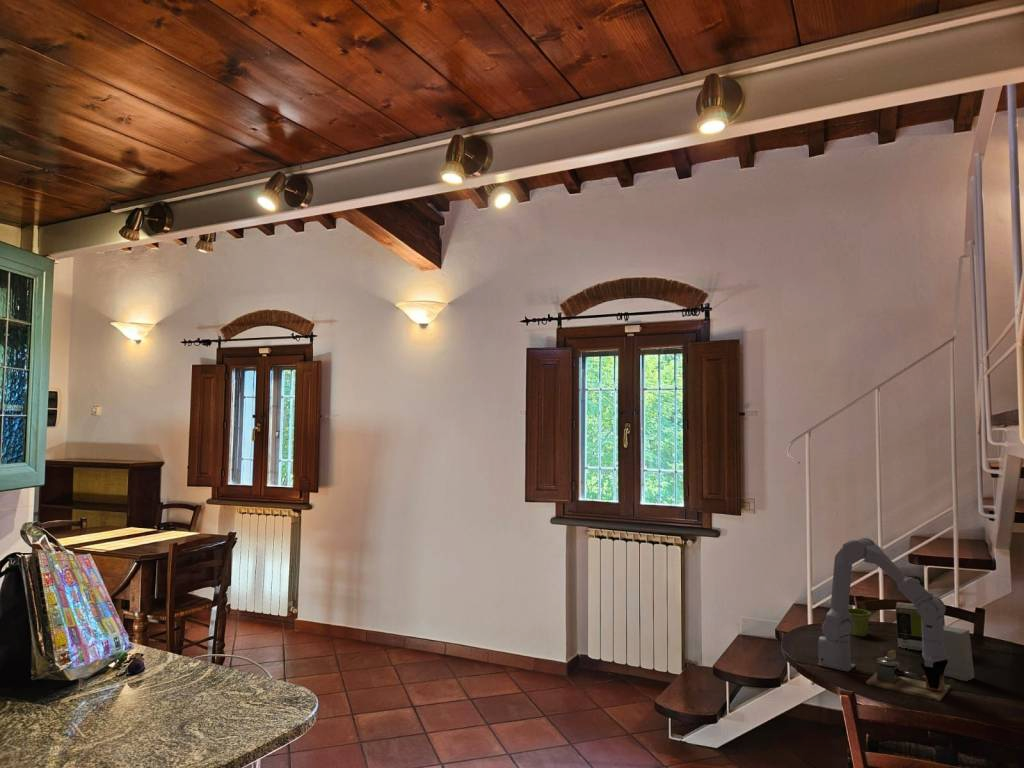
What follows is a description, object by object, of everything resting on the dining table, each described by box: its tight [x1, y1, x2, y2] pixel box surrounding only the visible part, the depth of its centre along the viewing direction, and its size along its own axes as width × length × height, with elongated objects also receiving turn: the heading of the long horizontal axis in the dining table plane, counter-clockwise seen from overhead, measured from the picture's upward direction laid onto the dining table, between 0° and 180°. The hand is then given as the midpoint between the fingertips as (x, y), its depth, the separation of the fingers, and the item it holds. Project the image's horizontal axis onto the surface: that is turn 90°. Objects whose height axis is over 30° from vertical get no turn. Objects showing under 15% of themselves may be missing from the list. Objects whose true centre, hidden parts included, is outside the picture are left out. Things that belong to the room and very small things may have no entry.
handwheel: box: [876, 649, 900, 666], centre depth 208 cm, size 8×6×3 cm
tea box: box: [895, 601, 946, 652], centre depth 241 cm, size 15×10×15 cm, turn 58°
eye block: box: [875, 662, 902, 684], centre depth 207 cm, size 5×7×5 cm
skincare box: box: [944, 625, 975, 682], centre depth 212 cm, size 8×6×15 cm
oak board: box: [866, 672, 951, 702], centre depth 203 cm, size 20×14×1 cm
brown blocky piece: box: [896, 669, 946, 691], centre depth 201 cm, size 12×4×4 cm, turn 46°
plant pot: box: [848, 608, 872, 637], centre depth 258 cm, size 9×9×9 cm
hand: (935, 686), depth 198 cm, fingers closed on brown blocky piece, 4 cm apart
